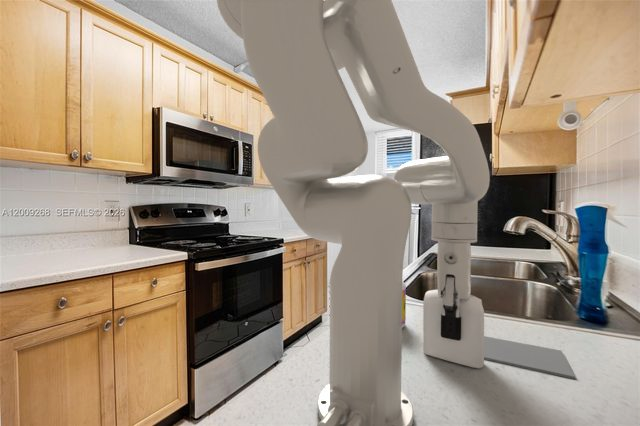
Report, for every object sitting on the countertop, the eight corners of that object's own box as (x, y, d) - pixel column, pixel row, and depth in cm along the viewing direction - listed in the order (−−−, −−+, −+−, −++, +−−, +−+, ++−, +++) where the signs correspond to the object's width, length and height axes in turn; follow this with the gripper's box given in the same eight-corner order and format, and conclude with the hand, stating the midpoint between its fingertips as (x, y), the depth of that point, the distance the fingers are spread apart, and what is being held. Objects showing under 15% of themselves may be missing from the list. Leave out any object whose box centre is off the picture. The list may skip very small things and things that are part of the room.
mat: (575, 379, 48) (575, 376, 48) (483, 359, 54) (483, 356, 54) (561, 352, 57) (561, 350, 57) (483, 337, 63) (483, 335, 63)
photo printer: (419, 354, 56) (420, 288, 55) (426, 346, 59) (427, 283, 59) (481, 373, 50) (483, 299, 49) (485, 362, 53) (486, 293, 53)
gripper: (475, 238, 45) (473, 358, 45) (478, 230, 60) (476, 321, 60) (423, 235, 48) (422, 347, 49) (437, 228, 63) (436, 314, 64)
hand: (452, 331), depth 54 cm, fingers closed on photo printer, 4 cm apart
